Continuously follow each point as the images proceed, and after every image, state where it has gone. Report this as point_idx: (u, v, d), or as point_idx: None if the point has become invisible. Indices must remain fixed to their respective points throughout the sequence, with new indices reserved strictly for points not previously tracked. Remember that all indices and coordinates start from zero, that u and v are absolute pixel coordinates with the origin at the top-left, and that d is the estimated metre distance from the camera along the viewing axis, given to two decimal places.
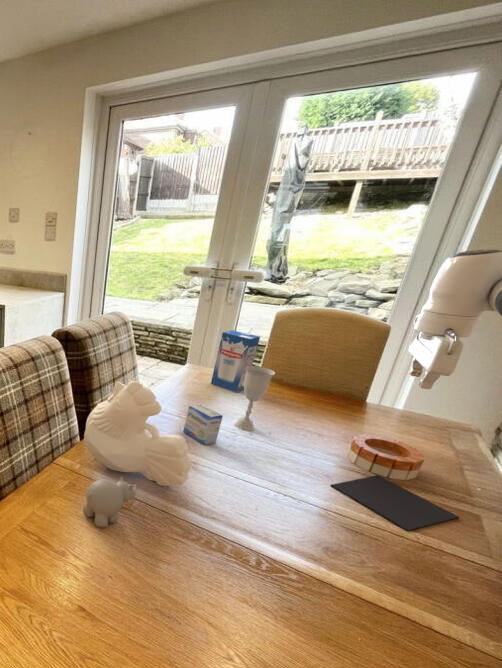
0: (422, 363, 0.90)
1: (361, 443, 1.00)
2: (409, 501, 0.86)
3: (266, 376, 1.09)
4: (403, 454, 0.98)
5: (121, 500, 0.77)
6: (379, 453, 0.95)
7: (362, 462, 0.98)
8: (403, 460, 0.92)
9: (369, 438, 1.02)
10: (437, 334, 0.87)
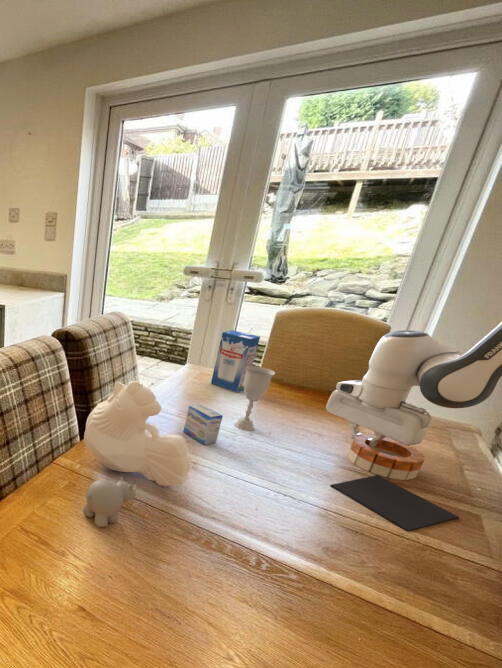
0: (383, 432, 0.97)
1: (361, 443, 0.99)
2: (409, 501, 0.86)
3: (266, 376, 1.09)
4: (403, 454, 0.98)
5: (121, 500, 0.77)
6: (379, 453, 0.95)
7: (362, 462, 0.98)
8: (403, 460, 0.92)
9: (369, 438, 1.02)
10: (394, 407, 0.95)
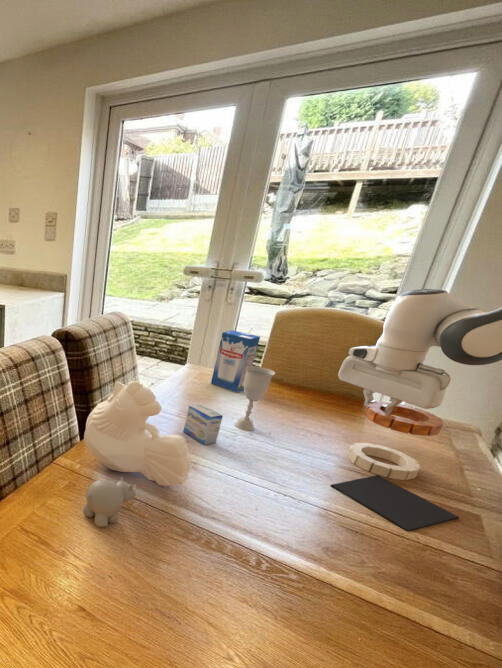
0: (399, 397, 0.93)
1: (376, 409, 0.96)
2: (409, 501, 0.86)
3: (266, 376, 1.09)
4: (420, 420, 0.94)
5: (121, 500, 0.77)
6: (395, 418, 0.91)
7: (362, 462, 0.98)
8: (420, 424, 0.88)
9: None
10: (410, 369, 0.91)
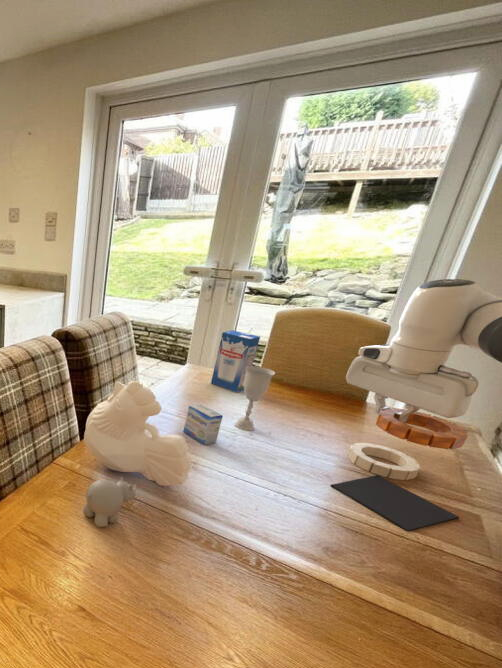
0: (416, 404, 0.81)
1: (390, 417, 0.84)
2: (409, 501, 0.86)
3: (266, 376, 1.09)
4: (440, 430, 0.82)
5: (121, 500, 0.77)
6: (412, 428, 0.79)
7: (362, 462, 0.98)
8: (442, 436, 0.77)
9: (398, 412, 0.86)
10: (431, 372, 0.79)
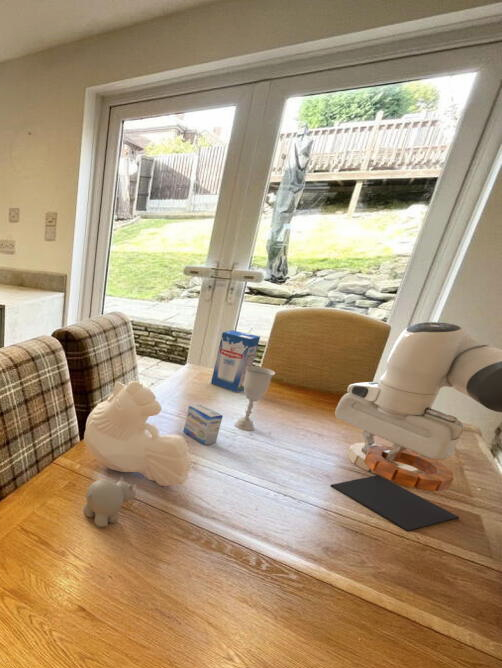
0: (403, 444, 0.82)
1: (377, 457, 0.84)
2: (409, 501, 0.86)
3: (266, 376, 1.09)
4: (427, 470, 0.83)
5: (121, 500, 0.77)
6: (399, 469, 0.80)
7: (362, 462, 0.98)
8: (428, 479, 0.77)
9: (386, 450, 0.87)
10: (417, 414, 0.80)
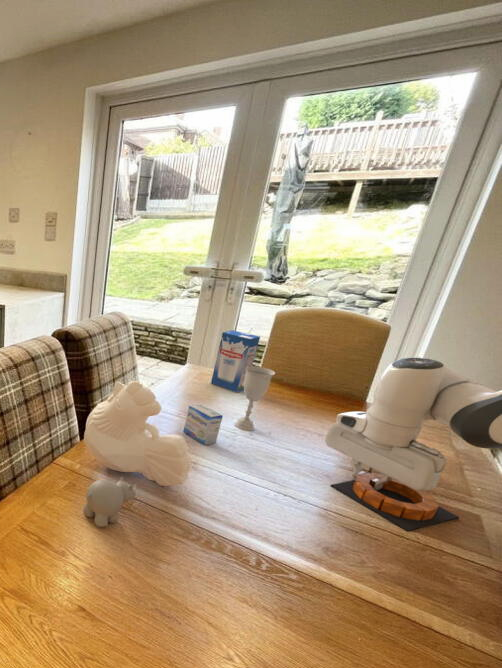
0: (390, 474, 0.85)
1: (365, 485, 0.87)
2: (409, 501, 0.86)
3: (266, 376, 1.09)
4: (413, 498, 0.86)
5: (121, 500, 0.77)
6: (386, 498, 0.83)
7: None
8: (413, 508, 0.80)
9: (374, 478, 0.90)
10: (403, 446, 0.82)
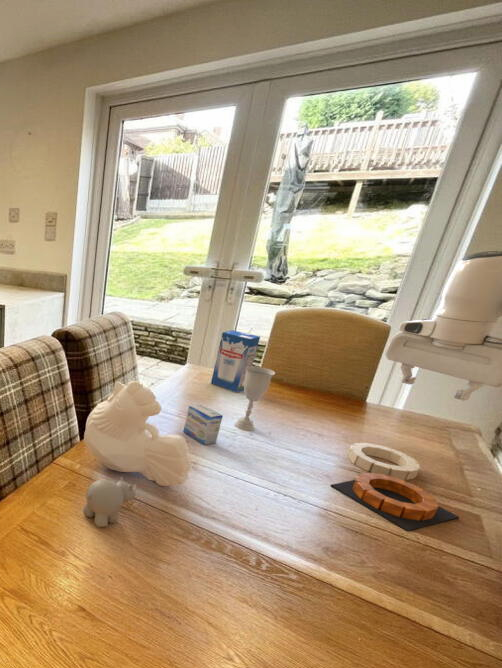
0: (462, 375, 0.82)
1: (365, 485, 0.87)
2: (409, 501, 0.86)
3: (266, 376, 1.09)
4: (413, 498, 0.86)
5: (121, 500, 0.77)
6: (386, 498, 0.83)
7: (362, 462, 0.98)
8: (413, 508, 0.80)
9: (374, 478, 0.90)
10: (477, 343, 0.80)
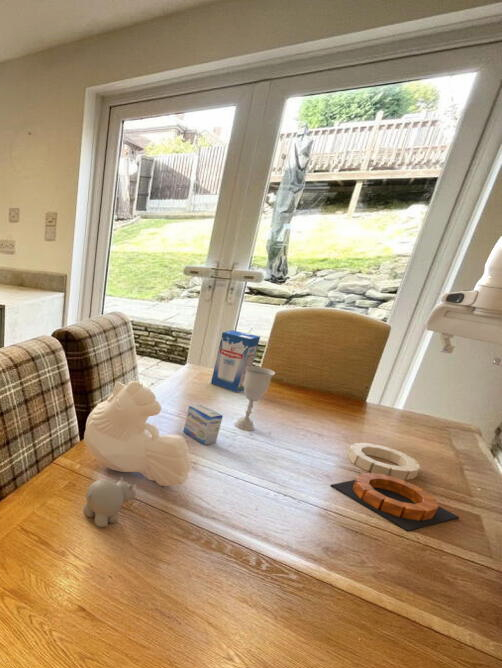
0: None
1: (365, 485, 0.87)
2: (409, 501, 0.86)
3: (266, 376, 1.09)
4: (413, 498, 0.86)
5: (121, 500, 0.77)
6: (386, 498, 0.83)
7: (362, 462, 0.98)
8: (413, 508, 0.80)
9: (374, 478, 0.90)
10: None
